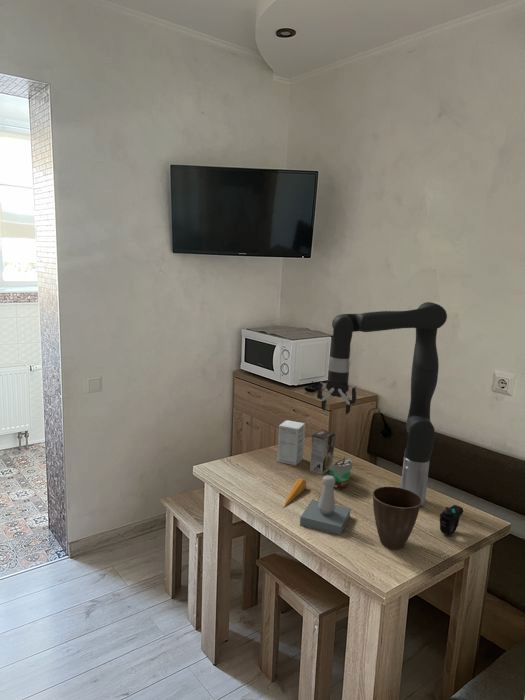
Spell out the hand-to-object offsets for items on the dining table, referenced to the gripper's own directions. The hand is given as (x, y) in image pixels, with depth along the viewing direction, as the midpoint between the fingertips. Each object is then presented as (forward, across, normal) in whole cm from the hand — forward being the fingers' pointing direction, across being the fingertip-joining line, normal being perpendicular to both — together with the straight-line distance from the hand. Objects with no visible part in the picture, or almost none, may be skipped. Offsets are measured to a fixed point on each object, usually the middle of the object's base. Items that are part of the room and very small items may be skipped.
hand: (335, 411), depth 189 cm
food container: (+33, -3, -10) cm, 35 cm away
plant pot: (+33, -27, +24) cm, 49 cm away
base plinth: (+33, -4, +20) cm, 39 cm away
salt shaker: (+30, -4, +20) cm, 36 cm away
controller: (+33, -44, +8) cm, 56 cm away
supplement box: (+33, +24, -25) cm, 48 cm away
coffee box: (+33, +9, -22) cm, 41 cm away
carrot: (+33, +12, +8) cm, 36 cm away
